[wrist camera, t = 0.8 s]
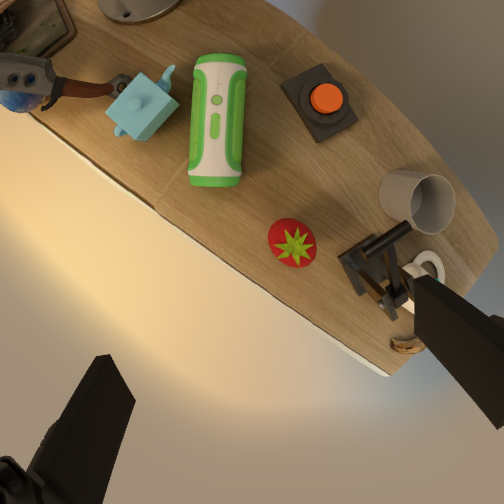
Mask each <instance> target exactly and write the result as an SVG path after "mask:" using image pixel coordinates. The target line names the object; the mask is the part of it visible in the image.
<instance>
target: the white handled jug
mask: <svg viewBox="0 0 504 504" xmlns="http://www.w3.org/2000/svg"><path fill="white" fill-rule="evenodd" d="M425 261H430V262H432V263H433V264H434V265H435V267H436V269H437V274H438V279H436V280H438V281H439V282H441V283H442V284H445V270H444V266H443V263H442V261H441V259H440V258H439V256H438V255H437V254H436V253H434V252H433V251H428V250H427V251H423V252H421V253H420V254H418V256H417V257H416V258H415V259H414V261H413V263H409V264H407V265H405V266H403V267H402V268H403V269H404V270H405V271H407V272H408V273H409V274H411V275H412V276H413V278H417V277H420V276H423V275H426V274H429V273H428V272H427V271H425V270H424V269H423V268H422V267H421V264H422V263H423V262H425ZM429 275H430V274H429ZM433 278H434V277H433ZM408 299H409V298H408ZM401 306H403V307H404V308H406V309H407V310H408V311H410V312H411V313H413V314H414V302H413V301H412V300H410V299H409V301H407V302H406V303H404V304H403V305H401Z"/></svg>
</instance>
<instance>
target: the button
mask: <svg viewBox="0 0 504 504" xmlns="http://www.w3.org/2000/svg"><path fill="white" fill-rule="evenodd" d="M310 100H311V104H312V106H313V107H314V108H315V109H316V110H317V111H318V112H320V113H324V114H327V113H331V112H334V111H336V110H338V109H339V108H340V106H341V105H342V102H343V97H342V94H341V92H340V90H339V89H338V88H337V87H336V86H334V85H332V84H321V85H319V86H318V87H317V88H316V89H314V90H313V92H312V93H311V97H310Z"/></svg>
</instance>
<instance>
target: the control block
mask: <svg viewBox="0 0 504 504" xmlns="http://www.w3.org/2000/svg"><path fill="white" fill-rule="evenodd" d="M321 84H332V85H334V86H336V87H337V88H338V89H339V90H340V92H341V94H342V97H343V102H342V105H341V106H340V108H339V109H338V110H336V111H334V112H331V113H327V114H324V113H320V112H318V111H317V110H316V109H315V108H314V107H313V106H312V104H311V100H310V97H311V93H312V92H313V90H314V89H316V88H317V87H318V86H319V85H321ZM281 89H282V90H283V92H284V93H285V94H286V96H287V97H288V99H289V100H290V102H291V104H292V105H293V107H294V108H295V110H296V111H297V113H298V114H299V116H300V117H301V119H302V121H303V122H304V124H305V125H306V127H307V129H308V130H309V132H310V133H311V135H312V137H313V138H314V140H315V142H316V143H320V142H322V141H324V140H325V139H327V138H329V137H331V136H332V135H334V134H336V133H337V132H339V131H341V130H343V129H344V128H346V127H348V126H350V125H351V124H353V123H355V122H357V121H358V119H357V117H356V115H355V114H354V112H353V110H352V109H351V107H350V105H349V100H348V94H347V92H346V91H345V89H344V87H343V86H342V84H341V83H339V82H338V81H336V80H334V79H333V78H332V77H331V75H330V74H329V72H328V71H327V69H326V68H325V66H324V65H323V63H321V64H319V65H317V66H315V67H313V68H311V69H309V70H307V71H305V72H303V73H301V74H299V75H298V76H296V77H294V78H292V79H290V80H288V81H286V82H284V83H283V84H282V85H281Z"/></svg>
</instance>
